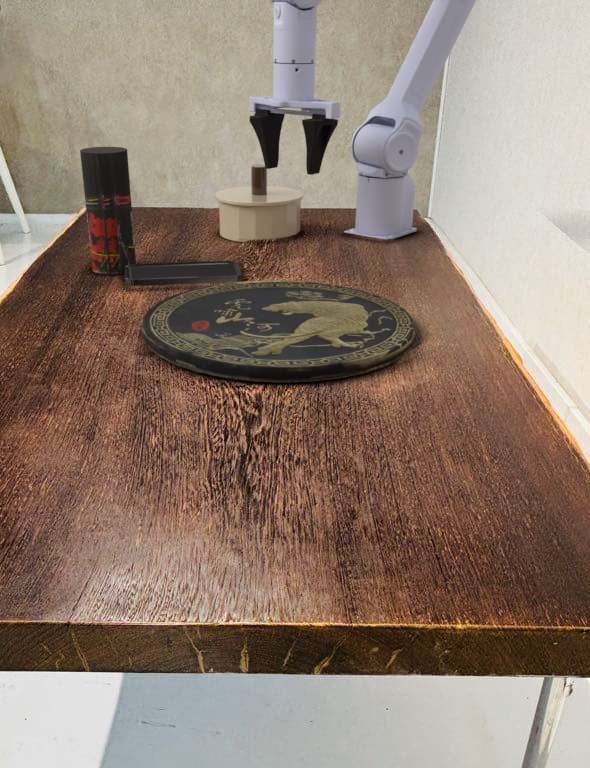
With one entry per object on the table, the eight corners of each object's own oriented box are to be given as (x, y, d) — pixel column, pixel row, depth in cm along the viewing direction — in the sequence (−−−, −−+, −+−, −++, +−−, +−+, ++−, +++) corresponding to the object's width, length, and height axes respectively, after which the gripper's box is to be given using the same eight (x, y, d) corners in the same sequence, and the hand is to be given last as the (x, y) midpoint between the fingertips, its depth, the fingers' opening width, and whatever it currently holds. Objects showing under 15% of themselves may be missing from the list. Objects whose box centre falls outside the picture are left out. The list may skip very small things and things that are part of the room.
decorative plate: (100, 354, 84) (183, 271, 109) (101, 372, 85) (183, 286, 110) (409, 379, 79) (422, 287, 104) (407, 398, 80) (420, 302, 105)
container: (254, 221, 143) (253, 186, 140) (315, 232, 136) (316, 196, 133) (203, 234, 135) (201, 198, 132) (265, 247, 128) (265, 209, 125)
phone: (124, 264, 115) (236, 260, 116) (125, 273, 115) (236, 268, 117) (124, 280, 108) (242, 275, 110) (125, 289, 109) (242, 284, 110)
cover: (253, 189, 141) (253, 156, 138) (320, 200, 134) (321, 164, 131) (197, 202, 132) (195, 167, 129) (265, 214, 125) (265, 176, 122)
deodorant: (87, 266, 119) (74, 148, 111) (128, 261, 121) (119, 145, 113) (99, 276, 114) (87, 154, 106) (142, 271, 116) (133, 151, 108)
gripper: (234, 62, 117) (235, 168, 125) (320, 66, 110) (316, 180, 117) (267, 59, 122) (266, 162, 129) (351, 64, 114) (345, 173, 122)
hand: (292, 170), depth 123 cm, fingers open, 7 cm apart
